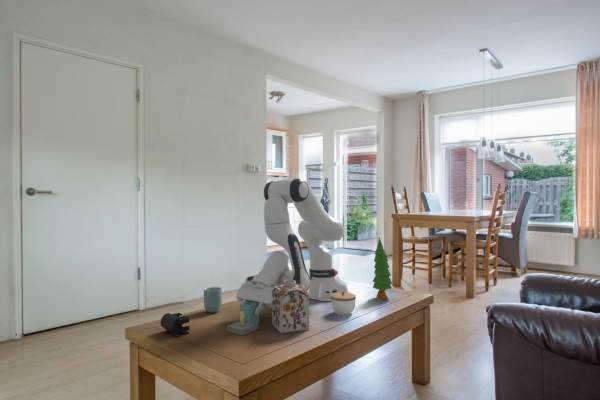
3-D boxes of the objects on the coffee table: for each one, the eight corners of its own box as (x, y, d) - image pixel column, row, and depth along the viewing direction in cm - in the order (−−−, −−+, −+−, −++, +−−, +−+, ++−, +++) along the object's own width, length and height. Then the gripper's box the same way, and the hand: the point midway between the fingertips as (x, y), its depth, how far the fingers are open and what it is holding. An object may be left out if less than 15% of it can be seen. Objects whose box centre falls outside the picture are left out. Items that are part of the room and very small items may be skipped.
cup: (217, 314, 171) (217, 291, 171) (200, 313, 173) (200, 290, 173) (224, 309, 179) (224, 287, 179) (208, 308, 181) (208, 286, 180)
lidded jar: (353, 318, 164) (352, 295, 164) (328, 315, 167) (327, 293, 167) (358, 310, 174) (357, 289, 174) (334, 309, 177) (333, 288, 177)
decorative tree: (369, 296, 198) (368, 236, 198) (385, 294, 202) (384, 235, 201) (380, 301, 189) (380, 238, 189) (397, 299, 193) (396, 237, 192)
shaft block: (242, 325, 156) (242, 307, 156) (257, 329, 151) (257, 311, 151) (227, 331, 150) (227, 312, 150) (242, 335, 145) (242, 316, 145)
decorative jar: (271, 324, 157) (270, 279, 157) (299, 321, 161) (298, 276, 161) (280, 334, 146) (280, 285, 145) (310, 330, 150) (309, 282, 149)
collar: (249, 320, 162) (249, 301, 162) (259, 323, 159) (259, 303, 159) (240, 324, 158) (239, 304, 158) (249, 326, 155) (249, 306, 155)
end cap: (160, 332, 150) (160, 314, 150) (178, 327, 155) (177, 310, 155) (171, 339, 143) (171, 320, 143) (190, 334, 147) (189, 316, 147)
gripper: (287, 291, 161) (271, 321, 153) (251, 285, 174) (235, 312, 166) (280, 282, 158) (263, 312, 150) (243, 276, 170) (226, 304, 162)
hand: (248, 312), depth 158 cm, fingers closed on collar, 5 cm apart
